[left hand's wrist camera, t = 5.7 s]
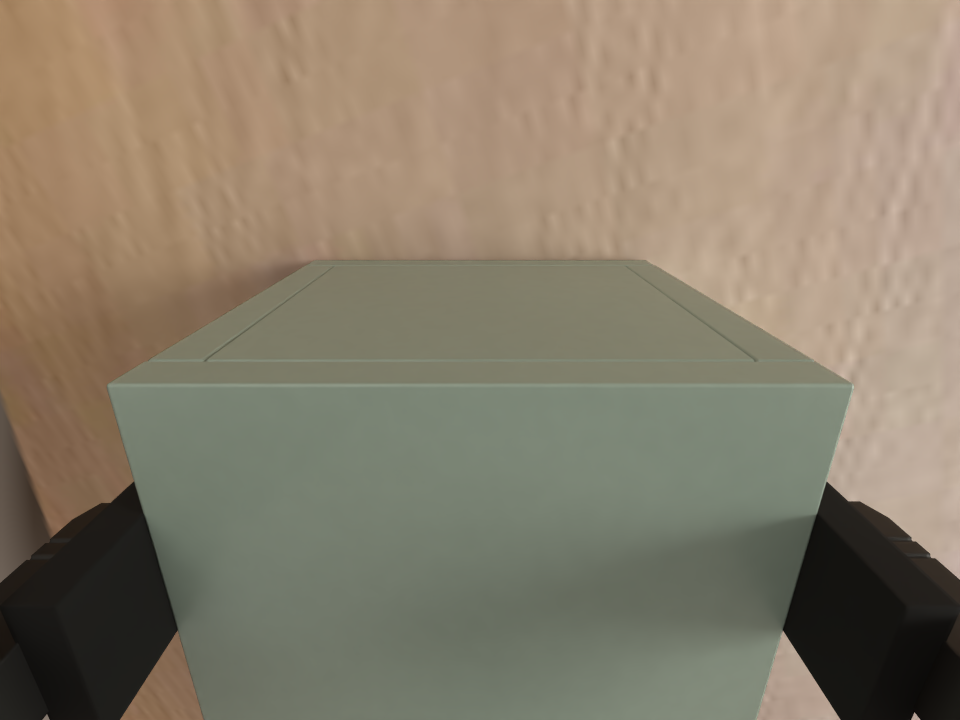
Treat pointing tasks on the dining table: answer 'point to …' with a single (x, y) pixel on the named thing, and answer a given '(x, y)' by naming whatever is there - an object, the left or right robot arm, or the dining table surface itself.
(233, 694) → the sage green box
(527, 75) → the dining table surface
